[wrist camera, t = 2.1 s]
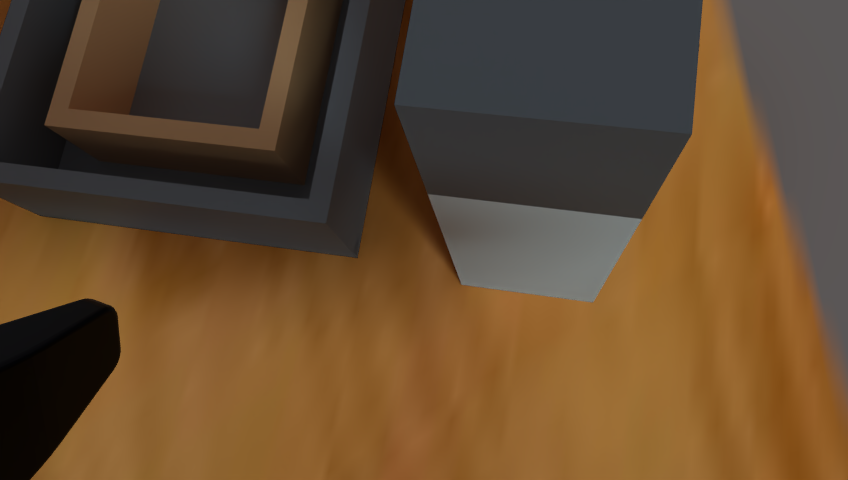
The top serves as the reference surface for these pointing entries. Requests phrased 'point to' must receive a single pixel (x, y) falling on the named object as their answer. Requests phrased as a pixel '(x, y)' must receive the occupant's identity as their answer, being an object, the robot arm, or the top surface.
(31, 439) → the robot arm
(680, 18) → the plug
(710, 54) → the top surface
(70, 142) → the walled box
